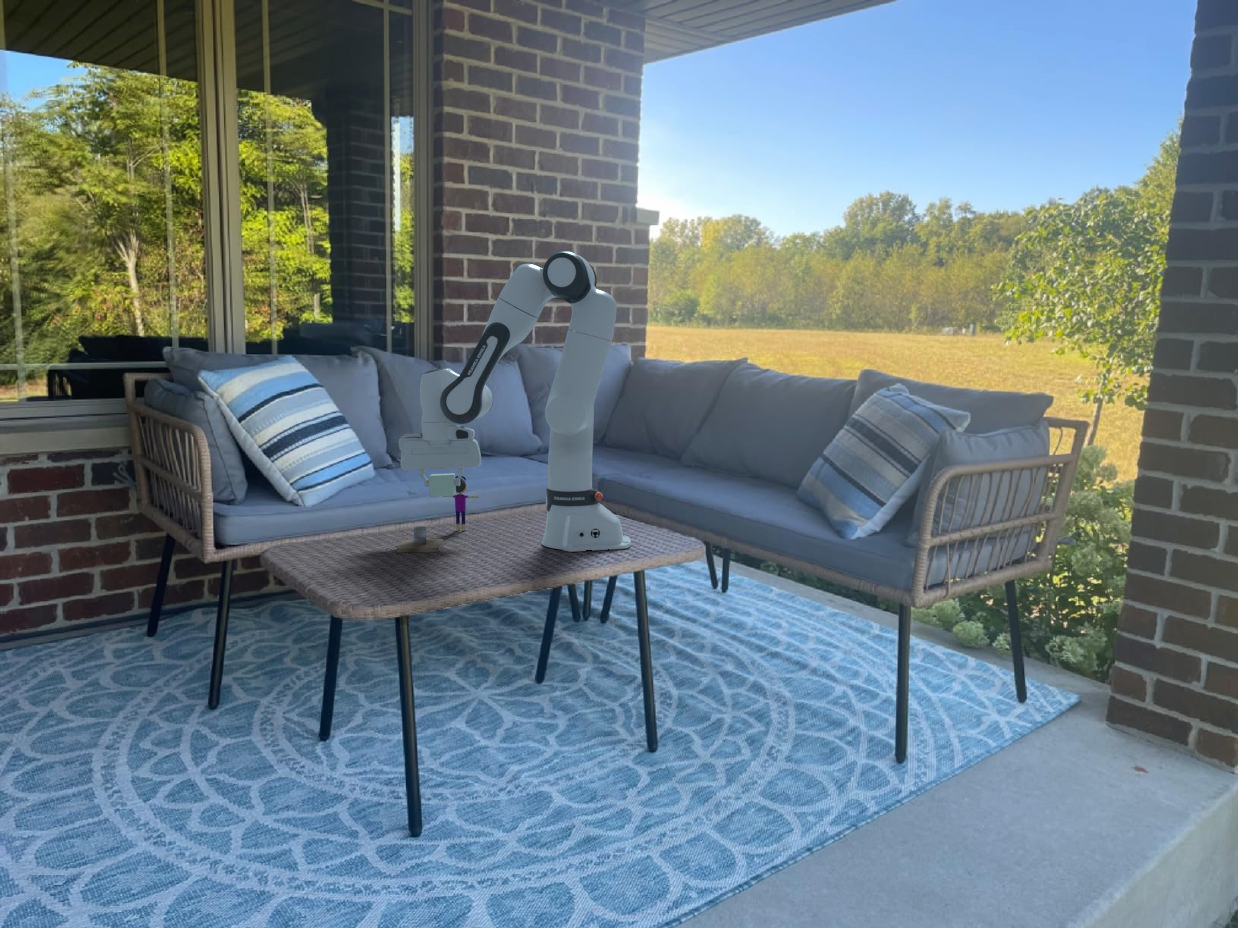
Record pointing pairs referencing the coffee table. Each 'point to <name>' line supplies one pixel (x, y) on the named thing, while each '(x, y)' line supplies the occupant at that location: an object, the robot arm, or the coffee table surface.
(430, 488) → the pale aqua cube
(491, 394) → the robot arm
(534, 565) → the coffee table surface
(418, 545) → the stand
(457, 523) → the toy
